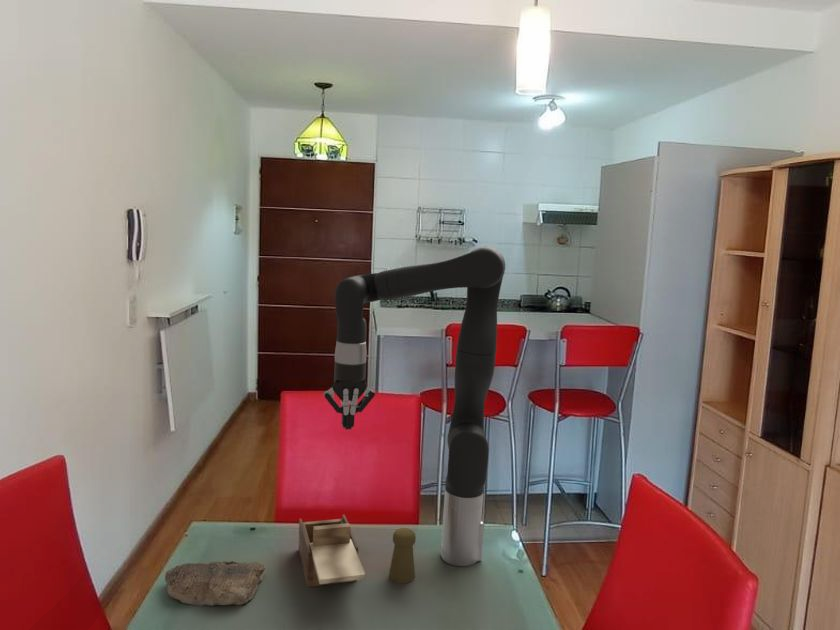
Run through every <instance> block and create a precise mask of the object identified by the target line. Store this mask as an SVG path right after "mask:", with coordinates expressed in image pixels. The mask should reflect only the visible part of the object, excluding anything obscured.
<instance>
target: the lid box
mask: <svg viewBox="0 0 840 630" xmlns="http://www.w3.org/2000/svg"><path fill="white" fill-rule="evenodd" d="M298 523H299V525H298V554H299V558H300V562H301V567H302V570H303V575H304V579H305V583H306V586H307V588H310V587H319V586H328V585H335V584H336V585H337V584H343V583H351V582H353V583H354V582H358V580H351V581H343V582H335V583H327V584H319V580H318V577H317V573H316V569H315V566H314V562H313V558H312V555H311V551H310V543H313V526H323V525H334V524H344V523H349V521H348V519H347V517H346V515H345V514H342V518H336V519H335V518H334V519H325V520H315V521H313V520H312V521H303V520H302V518H299V520H298ZM350 539H351V540H352V542H353V545H354V547H355V550H356V552H357V555H358V556H359V546H358V543H357V542H356V541H357V540H356V539H355V537H354V534H353V532H352V529H351V528H350Z"/></svg>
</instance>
